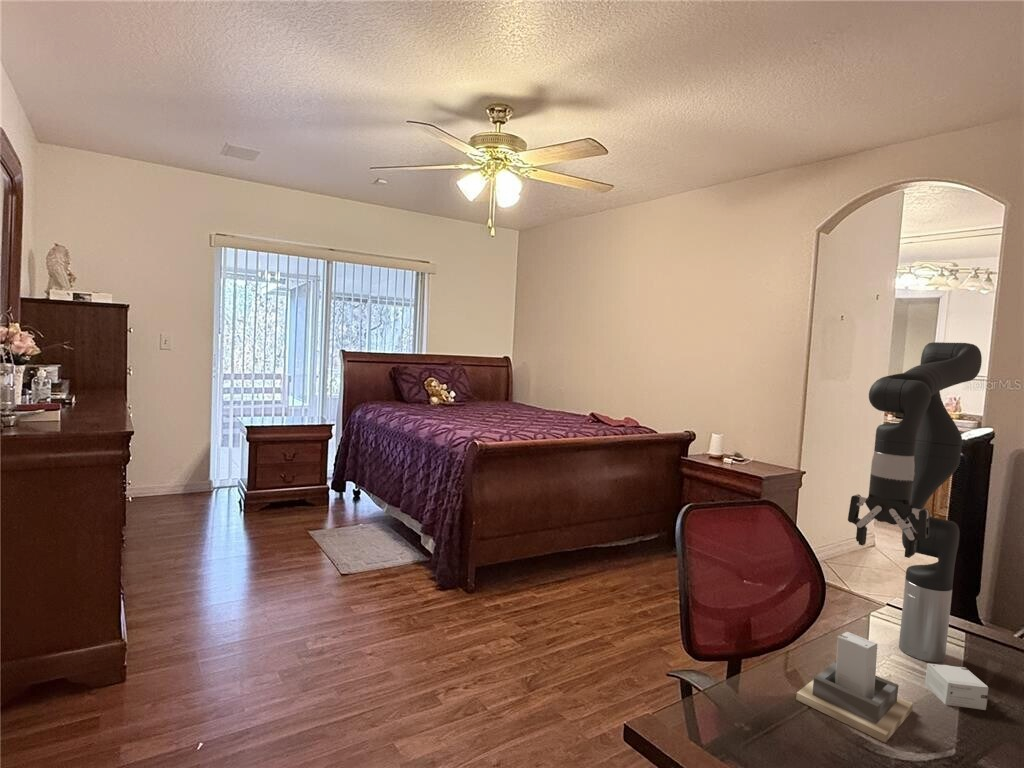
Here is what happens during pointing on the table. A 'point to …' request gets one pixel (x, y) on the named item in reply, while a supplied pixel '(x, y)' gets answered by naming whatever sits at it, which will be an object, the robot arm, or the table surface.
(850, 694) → the keyed socket block
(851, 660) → the skincare box
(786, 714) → the table surface
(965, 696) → the small box
